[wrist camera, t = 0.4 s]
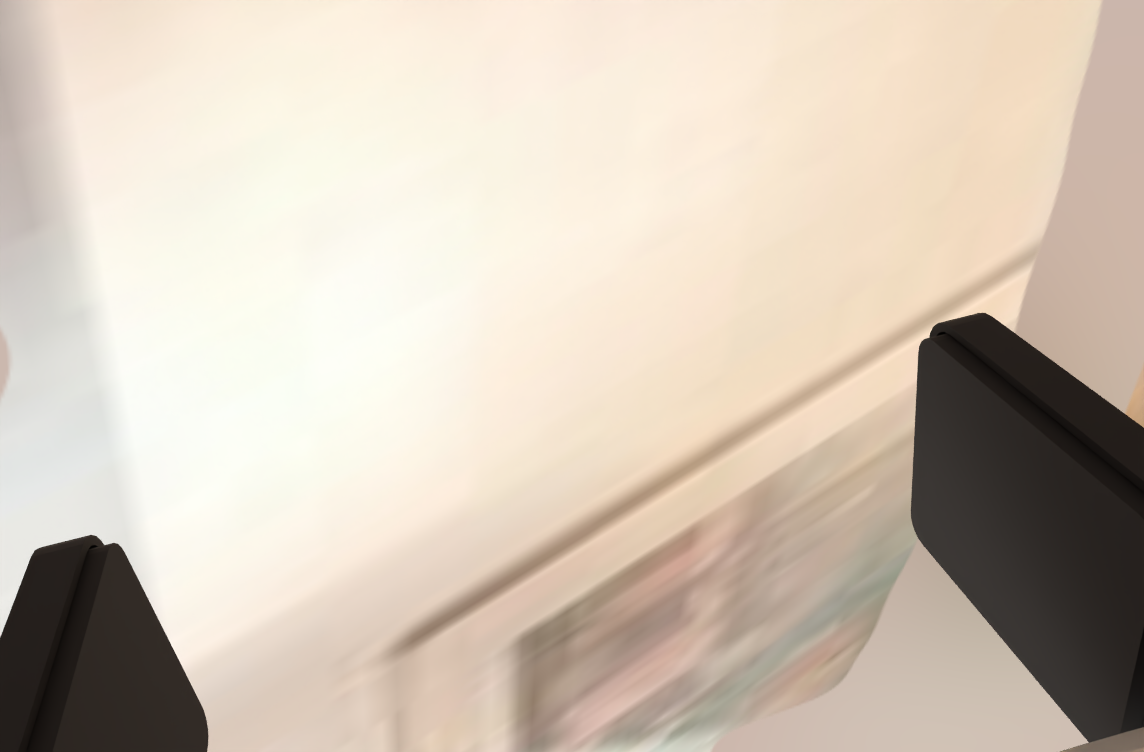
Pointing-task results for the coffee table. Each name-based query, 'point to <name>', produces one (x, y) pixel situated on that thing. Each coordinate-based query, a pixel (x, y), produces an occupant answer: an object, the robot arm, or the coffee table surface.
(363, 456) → the coffee table surface
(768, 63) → the coffee table surface
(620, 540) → the coffee table surface
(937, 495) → the robot arm
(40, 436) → the coffee table surface
